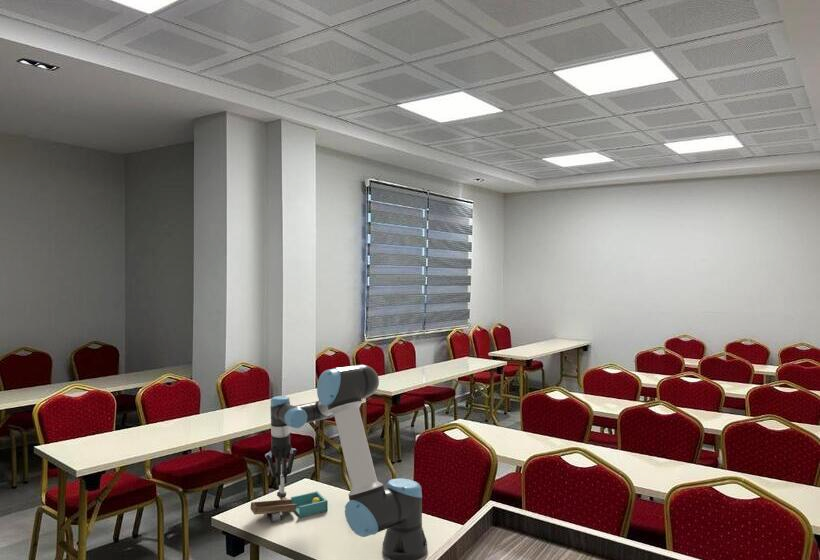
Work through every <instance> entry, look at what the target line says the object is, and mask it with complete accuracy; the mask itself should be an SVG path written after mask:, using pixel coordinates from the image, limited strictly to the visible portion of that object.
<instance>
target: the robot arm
mask: <svg viewBox="0 0 820 560" xmlns="http://www.w3.org/2000/svg"><path fill="white" fill-rule="evenodd" d="M379 385H380V379H379V374H378V373H377V372H376V370H375V369H374V368H372V367H371V366H369V365H366V364H357V365H349V366H342V367H341V366H340V367H333V368H331V369H326V370H324V371H323V372H322V373H321V374H320V375H319V378H318V380H317V385H316V392H317V393H316V395H317V399H318V400H317V401H312V402H308V403H303V404H298V405H292V404H291V400H290V396H287V395H276V396H273V397H272V398H271V399H270V407H269V409H270V432H271V433H270V434H271V437H270V439H271V441H270V443H271V447H270V449H269V451H268V452H267V453H265V454H264V457H265V458H266V459H267V463H268V466H269V471H270V474H271V476H272V477H273V478H276V479H275V480H276V485H277V486H278V492H280V493H281V494H282V493H284V492H285V485H286V484H287V477H288V475H291V474H292V470H293V465H294V459H295V457H296V454H297V453H298V452H297V451H298V450H297V449H296V448H293V447H292V446H291V445H292V444H291V428H294V429H299V428H302V427H303V426H305V425H306V424H310V423H313V422H317V421H323V420H327V419H331V418H334V421H335V424H336V429H337V432H338V436H339V441H340V445H341V448H342V449H341V450H342V453H343V458H344V462H345V465H346V470H347V473H348V474H347V475H348V479H349V483H350V486H351V489H350V491H349V493H348V499H349V501H347V503H346V504H345V505H344V515H345V516H344V517H345V519H346V522H347V524H348V526H349V528H350V529H351V531H353V533H354V534H355V535H357V536H358V537H361V538H365V537H369V536H375V535H377V534H378V533H380V532H382V531H383V532H384V531H385V530H386V531H385V534H384V538H383V540H382V554H383V555H385V556H386V557H387V558H388V559H390V560H418V559H421V558H423V557H424V556H425V555H426V554H427V552H428V540H427V538H426V535H425V530H424V528H423V494H422V486H421V485H420V483H419V482H417V481H416V480H415V481H414V480H413V479H408V478H399V477H398V478H392V479H389V480H388V481H387V483H386V488H385V486H384V484H383V483H382V482H380V481H379V480H378V479H377V475H376V471H375V470H376V469H375V467H374V462H373V458H372V455H371V450H370V447H369V442H368V438H367V435H366V431H365V430H366V429H365V426H364V422H363V419H362V414H361V410H360V408H361V405H362V403H363V400H364V399H367V398H369V397H370V396H372V395H374V394H375V393H376V391H377V390H378V388H379ZM288 455H289V456H288ZM272 457H275V458H274V459H275V465H274V461H273V459H272ZM288 457H289V458H288ZM287 459H288V462H287Z"/></svg>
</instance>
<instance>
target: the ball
mask: <svg viewBox="0 0 820 560" xmlns="http://www.w3.org/2000/svg"><path fill="white" fill-rule="evenodd" d="M316 502H320V499H319V498H317V497H316V498H314V499H313V500H312V503H316Z"/></svg>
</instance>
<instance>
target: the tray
mask: <svg viewBox="0 0 820 560" xmlns="http://www.w3.org/2000/svg"><path fill="white" fill-rule="evenodd" d="M316 497H317V498H319V499H320V502H316V503H312V500H313V499H314V498H316ZM290 499H292V504H297V505H296V511H294V513H295V514H296V515H297V516H298V517H299V518H303V517H307V516H312V515H316V514H317V515H318V514H319V513H320V514H321V513H324V512H327V511H328V510H329V509H328V500H327V499H326V498H325V497H324V496H323V495H322V494H321V493H320V492H319V491H318V490H317V491H311V492H308V493H307V492H306V493H303V494H299V495H294V496H291V497H290Z"/></svg>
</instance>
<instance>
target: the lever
mask: <svg viewBox="0 0 820 560" xmlns="http://www.w3.org/2000/svg"><path fill="white" fill-rule="evenodd" d="M276 494H277V495H276V496H277V497H278V498H279V499H276V500H275V499H274V500H267V501H266V500H264V501H263V500H262V501H252V502H250V508H249V509H250V510H251V512H252V513H253V515H256V516H257V515H265V514H267V513H276V512H280V513H286V512H287V513H288V512H295V511H296V505H297V504H292V499H291V498H290V499H289V498H287V492H286V491H284V493H282V494H281V493H280V492H279V491H278V492H277V493H276Z"/></svg>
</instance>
